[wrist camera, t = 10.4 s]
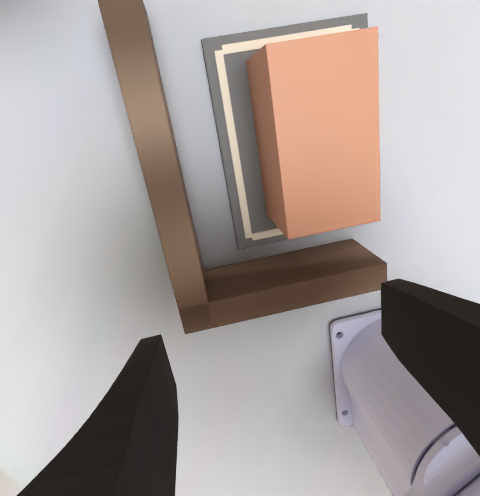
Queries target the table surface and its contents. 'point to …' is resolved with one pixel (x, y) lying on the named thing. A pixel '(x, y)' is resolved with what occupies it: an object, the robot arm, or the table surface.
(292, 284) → the corner wall
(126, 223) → the table surface
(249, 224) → the pad
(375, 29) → the terracotta block
